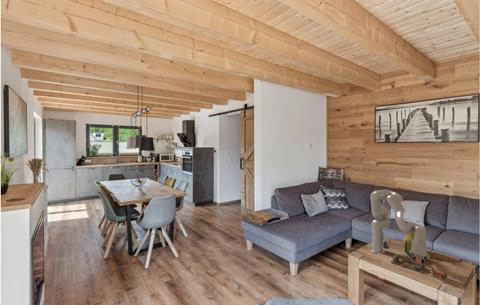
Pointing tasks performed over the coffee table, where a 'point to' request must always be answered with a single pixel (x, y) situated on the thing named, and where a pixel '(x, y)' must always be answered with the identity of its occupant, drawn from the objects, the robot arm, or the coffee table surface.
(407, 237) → the pitcher
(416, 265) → the salmon pink rectangular box
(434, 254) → the coffee table surface
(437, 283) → the coffee table surface
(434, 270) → the bull figurine
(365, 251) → the coffee table surface
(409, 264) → the press base
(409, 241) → the tea box
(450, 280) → the coffee table surface
